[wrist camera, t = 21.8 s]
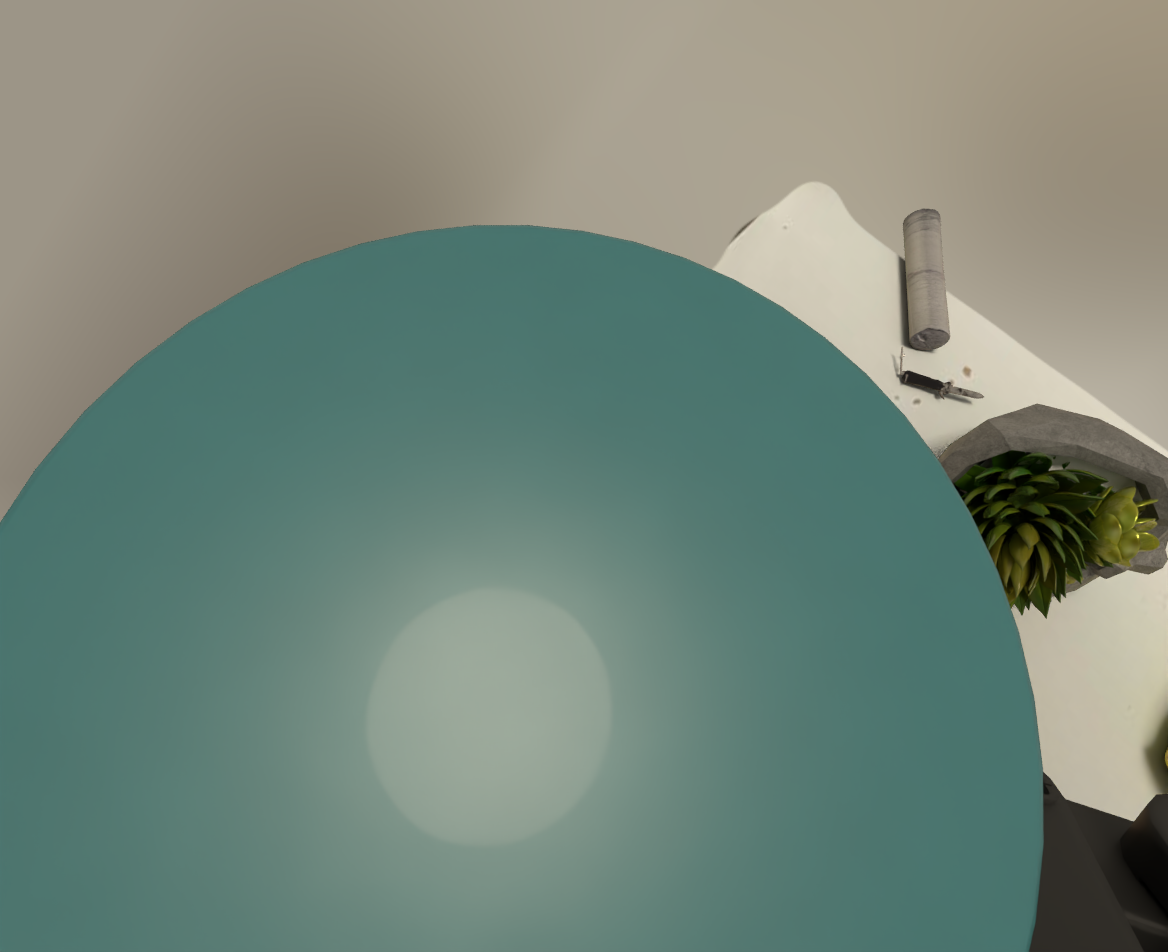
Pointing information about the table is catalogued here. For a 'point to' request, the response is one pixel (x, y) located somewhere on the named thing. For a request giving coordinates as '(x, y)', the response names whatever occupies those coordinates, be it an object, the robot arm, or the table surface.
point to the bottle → (1166, 758)
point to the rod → (925, 280)
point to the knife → (935, 383)
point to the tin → (507, 631)
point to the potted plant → (1061, 500)
